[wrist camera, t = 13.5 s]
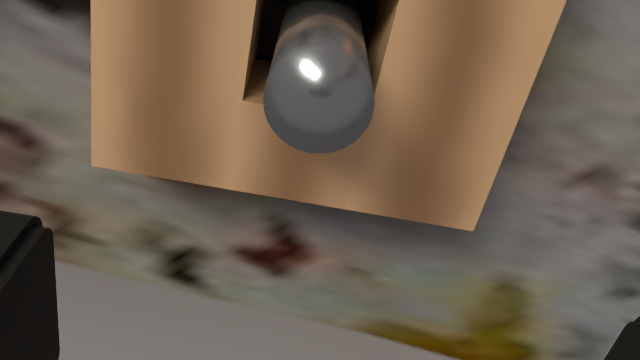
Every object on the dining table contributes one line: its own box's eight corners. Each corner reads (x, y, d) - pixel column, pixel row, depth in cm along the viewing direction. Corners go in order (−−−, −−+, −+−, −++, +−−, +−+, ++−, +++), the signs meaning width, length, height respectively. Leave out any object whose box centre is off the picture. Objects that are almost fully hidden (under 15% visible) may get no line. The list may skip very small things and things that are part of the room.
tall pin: (367, -14, 30) (386, 62, 20) (350, 58, 32) (360, 162, 22) (291, -30, 30) (272, 40, 20) (279, 44, 32) (256, 143, 22)
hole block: (553, -106, 28) (604, -94, 23) (452, 175, 36) (473, 231, 31) (136, -201, 26) (90, -211, 21) (127, 116, 34) (91, 165, 29)
